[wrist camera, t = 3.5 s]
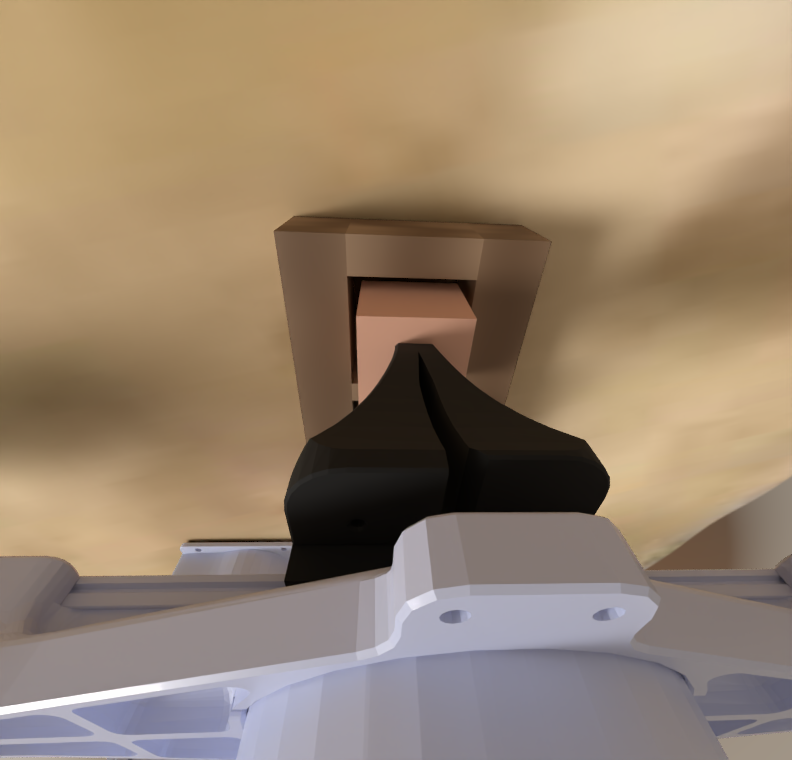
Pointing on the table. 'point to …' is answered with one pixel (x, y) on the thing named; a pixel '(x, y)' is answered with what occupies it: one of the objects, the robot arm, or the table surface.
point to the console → (400, 258)
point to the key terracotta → (410, 325)
